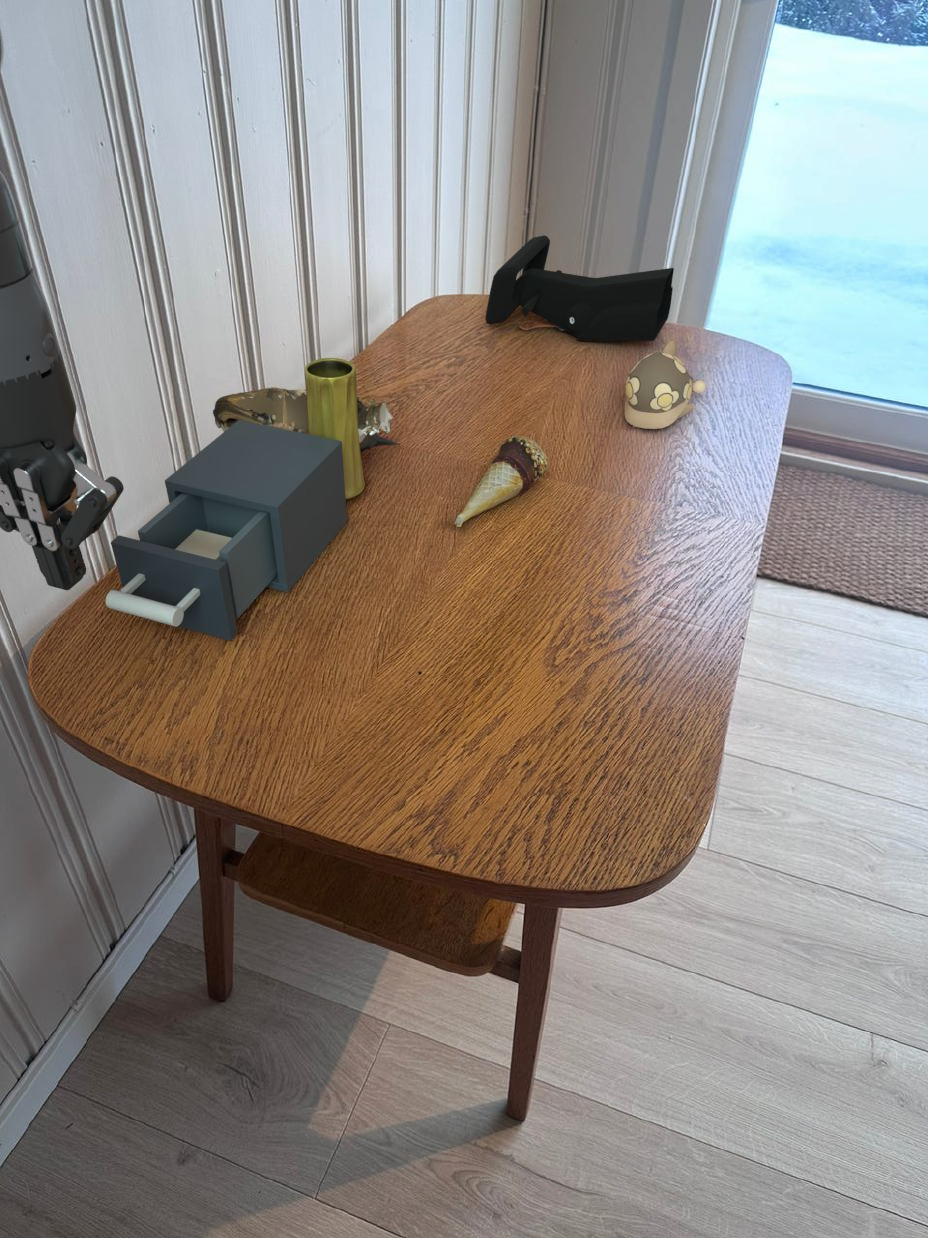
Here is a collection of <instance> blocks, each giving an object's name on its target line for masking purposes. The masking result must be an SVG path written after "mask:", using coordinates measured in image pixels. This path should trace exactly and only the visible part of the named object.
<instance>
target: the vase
mask: <svg viewBox="0 0 928 1238" xmlns="http://www.w3.org/2000/svg"><path fill="white" fill-rule="evenodd" d="M304 381H305V389H306V395H307V410H308V429H309V435H314V436H319V437H324V438H328V439H333V440H338V441H342V450H343V467H344V483H345V500H346V501H347V500H349V499H353V498H355V497H357V496H358V495H360V494H361V493H362V492H363V491H364V489H365V487H366V484H365V483H366V482H365V476H364V469H363V462H362V460H363V459H362V453H361V452H360V444H359V436H358V407H357V395H358V389H357V387H358V386H357V370H356V367H355V365H354V364H353V363H352V362H351V361H349V360H346V359H344V358H338V357H324V358H318V359H313V360H312V361H310V362H308V363H307V364H306V365H305V366H304Z"/></svg>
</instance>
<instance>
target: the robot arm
mask: <svg viewBox="0 0 928 1238" xmlns="http://www.w3.org/2000/svg"><path fill="white" fill-rule="evenodd" d="M4 49H5V47H4V40H3V33H2V29H1V28H0V73H1V71H2V69H3V62H4ZM30 255H31V254H30V252H29V248H28V245H27V241H26V238H25V234H24V230H23V227H22V223H21V219H20V217H19V213H18V209H17V205H16V202H15V198H14V196H13V192H12V190H11V188H10V185H9V183H8V180H7V179H6V177H5V174H3V172H2V171H1V170H0V529H1V530H2V531H4V532H6V533H11V532H13V531H16V532H17V533H20V535H21V538H22V540H23V541H24V542H25V543H26V544H27V545H29V546H31V548H32V552H33V555H34V557H35V559H36V562H37V564H38V568H39V571H40V573H41V574H42V576H43V577H44V578H45V579H44V580H45V582H46V585H48V586H49V587H52V588H56V589H60V590H64V591H70V590H72V588H73V587H75V586H76V585H77V584H78V583H79V582H80V581H82V580H83V578H84V577H85V575H86V574H87V565H86V564H85V559H84V557H83V553H82V550H81V547H80V546H81V544H82V543H83V542H85V540H87V539H88V538H89V537H90V536H92V535H93V534H95V533H96V532H97V531H99V530H100V528H101V527H102V525H103V523H104V522H105V520H106V519H107V517H108V516H109V514H110V512H111V511H112V509H113V508H114V506H115V504H116V503H117V501H118V500H119V498H120V497H121V495H122V493H123V492H124V484H123V483H122V481H121V479H119V478H118V477H117V476H108V477H107V478H106V479H104V478H102V477H101V476H100V475H99V474H97V473H96V472H95V471H94V470H93V469H91V467H90V466H88V465H87V463H88V456H87V453H86V451H85V450H84V447H82V445H81V444H80V442H79V440H78V439H77V437H76V436H75V431H74V427H75V420H76V415H77V403H76V400H75V397H74V393H73V389H72V386H71V381H70V378H69V374H68V371H67V368H66V363H65V361H64V356H63V353H62V350H61V346H60V342H59V339H58V335H57V332H56V327H55V324H54V320H53V317H52V312H51V310H50V306H49V304H48V301H47V298H46V296H45V294H44V292H43V289H42V288H41V284H40V282H39V280H38V278H37V275H36V272H35V269H34V266H33V263H32V258H31V256H30Z"/></svg>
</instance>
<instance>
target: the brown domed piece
mask: <svg viewBox="0 0 928 1238" xmlns="http://www.w3.org/2000/svg"><path fill="white" fill-rule="evenodd" d="M676 352H677V346H676V340H675V339H672V338H669V339H668V340H667V341H666V343H665V344H664V347H663V349H662V348H660V349H659V351H658V352H653V353H650V354H648V355H645V356H643V357H642V358H641V359H640V360H638V361H637V363H636V364H635V365H634V366H633V368H631V370H630V372H629V373H628V375H627V377H626V382H625V387H624V388H625V389H624V390H625V391H624V392H625V396H626V399H625V402H624V418H625V420H626V422H627V423H628V424H630V426H632V428H640V429H644V430H645V429H646V430H647V429H649V430H657V429H664V428H667V427H669V426H670V425H673V423H674V422H676V421H677V420H679V419H681V418H683V417H685V416H686V415H687V414H688V413H690V412H692V411H693V410H694V409H695V407H694V406H692V405H691V404H690V401H691V400H690V399H691V396H692V393H694V394H698V395H701V394H704V393H705V391H706V389H707V384H706V382H705V381H704V380H701V379H699V380H695V379H694V377H693V376H692V375H690V374H689V371H688V369H687V368H686V366H685V363H684V362H683V361H682V360H681V359H680V358H678V357H677V356H676V354H677V353H676Z"/></svg>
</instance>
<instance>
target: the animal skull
mask: <svg viewBox="0 0 928 1238" xmlns="http://www.w3.org/2000/svg"><path fill="white" fill-rule="evenodd" d="M366 403H367V404H369V405H366V404H365V402H364V401H363V400H362V399H361V397H359V395H358V394H357V407H358V436H359V444H360V452H361V454H362V453H364V452H365V451H367V450H368V451H371V449H372V448H375V447H377V446H378V447H379V446H398V445H400V443H398V442H395V441H393V440H391V439H388V438H385V437H383V436H380V435H379V434H378V433H379V432H380V430H382V431H383V433H384V434H389V433H390V432H391V429H390V427H391V425H390V424H391V421H392V419H393V418H394V417H393V415H392V413H391V412H390V409H389V408H388V405H387V401H384V402H377V401H376V399H375V397H373V398H370V399H369V400H367V401H366ZM212 414H213V417H214V423H215V425H216V427H217V428H218V429H221V431H223V432H225V431H226V430H227V429H228V428H230V427H231V426H232V425H233V424H235V423H236V422H237V421H238V420H242V421H247V422H252V423H257V424H261V425H266V426H271V427H276V428H281V429H285V430H290V431H295V432H300V433H305V434H309V429H308V410H307V395H306V388H305V389H287V388H282V387H281V388H280V387H275V386H271V387H266V388H261V389H256V390H250V391H244V392H237V393H232V394H227V395H224V396H221V397H219V398H218V399H217V400H216V401H215V403H214V409H213V410H212Z"/></svg>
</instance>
